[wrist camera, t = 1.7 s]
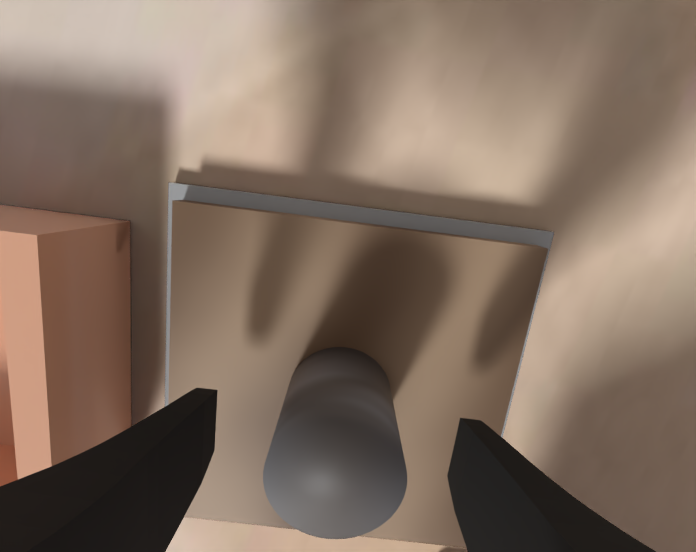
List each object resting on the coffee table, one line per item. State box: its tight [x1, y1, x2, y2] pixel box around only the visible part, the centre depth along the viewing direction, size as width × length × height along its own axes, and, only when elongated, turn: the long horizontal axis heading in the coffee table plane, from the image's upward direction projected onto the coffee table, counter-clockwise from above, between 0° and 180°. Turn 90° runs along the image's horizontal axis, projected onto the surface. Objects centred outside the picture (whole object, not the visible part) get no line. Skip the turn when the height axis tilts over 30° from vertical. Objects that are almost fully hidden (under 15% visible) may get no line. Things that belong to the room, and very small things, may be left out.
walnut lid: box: [168, 200, 548, 548], centre depth 12 cm, size 12×12×5 cm
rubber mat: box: [165, 182, 554, 437], centre depth 14 cm, size 13×13×1 cm
